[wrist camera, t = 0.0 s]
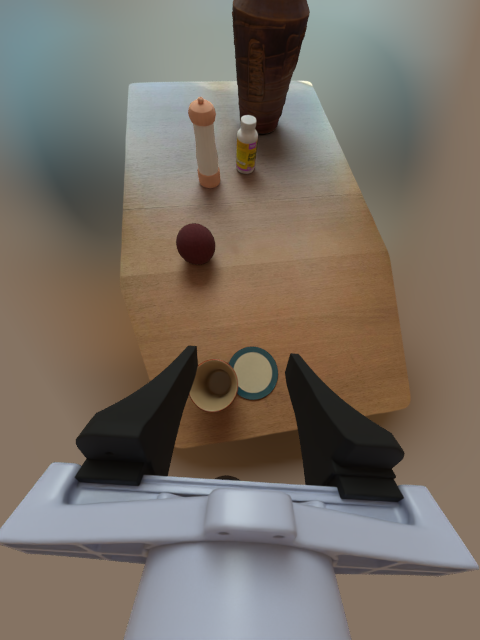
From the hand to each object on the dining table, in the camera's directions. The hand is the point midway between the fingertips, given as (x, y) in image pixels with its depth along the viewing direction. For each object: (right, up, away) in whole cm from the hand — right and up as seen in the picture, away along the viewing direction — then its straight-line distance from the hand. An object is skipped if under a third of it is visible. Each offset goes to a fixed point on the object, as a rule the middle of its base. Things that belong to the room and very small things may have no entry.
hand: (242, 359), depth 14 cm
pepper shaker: (-11, +52, +48) cm, 71 cm away
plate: (+3, -9, +28) cm, 30 cm away
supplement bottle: (+2, +58, +51) cm, 77 cm away
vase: (+8, +84, +60) cm, 104 cm away
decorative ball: (-12, +21, +38) cm, 45 cm away
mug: (-6, -11, +27) cm, 30 cm away
